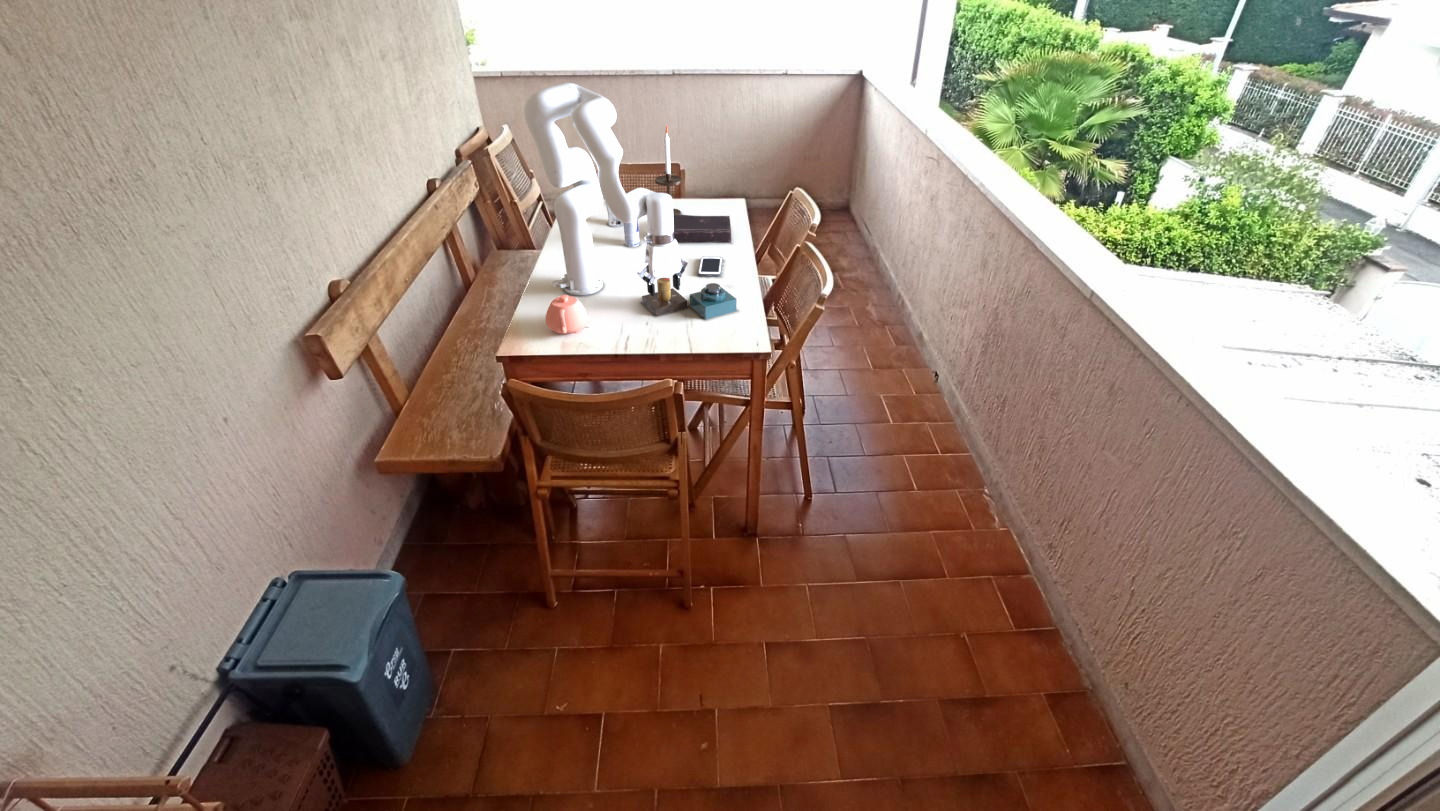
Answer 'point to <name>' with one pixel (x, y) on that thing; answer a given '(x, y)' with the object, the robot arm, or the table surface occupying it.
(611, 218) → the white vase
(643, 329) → the table surface
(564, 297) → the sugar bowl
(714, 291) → the dark grey push button
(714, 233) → the diary
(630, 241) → the energy drink
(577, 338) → the table surface
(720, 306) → the teal push button box
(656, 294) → the knob panel
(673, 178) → the candlestick
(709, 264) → the cell phone
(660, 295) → the knob
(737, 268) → the table surface
